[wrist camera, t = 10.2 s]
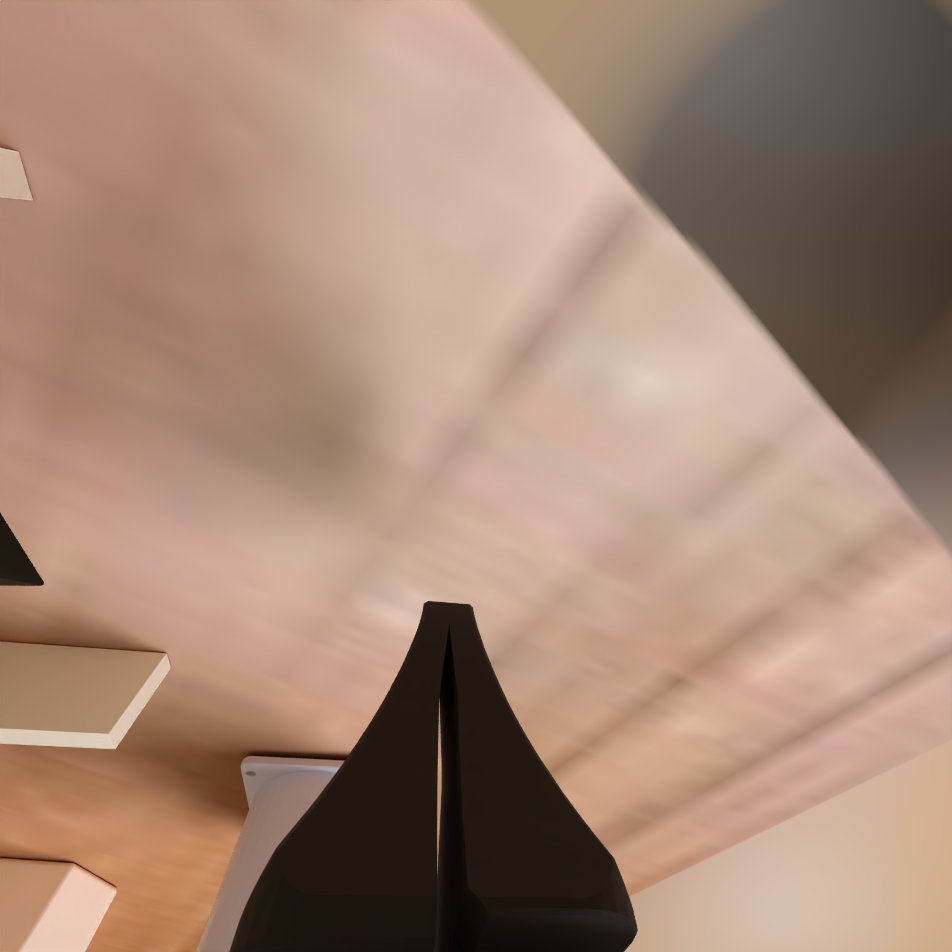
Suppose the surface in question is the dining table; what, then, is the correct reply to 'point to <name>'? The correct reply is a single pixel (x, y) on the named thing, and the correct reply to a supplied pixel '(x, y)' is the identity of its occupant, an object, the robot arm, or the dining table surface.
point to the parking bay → (69, 653)
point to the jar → (50, 906)
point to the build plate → (15, 561)
